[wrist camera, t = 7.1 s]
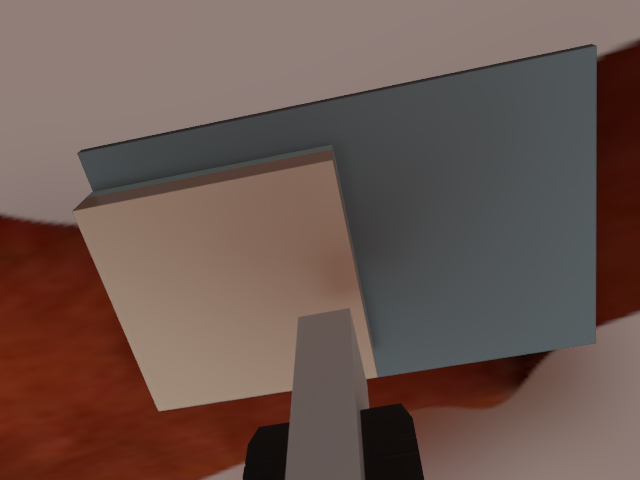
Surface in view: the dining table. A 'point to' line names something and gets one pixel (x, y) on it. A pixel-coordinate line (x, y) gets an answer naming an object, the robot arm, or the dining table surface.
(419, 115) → the mat
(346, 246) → the tile
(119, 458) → the dining table surface
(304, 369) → the robot arm
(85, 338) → the dining table surface
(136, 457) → the dining table surface
